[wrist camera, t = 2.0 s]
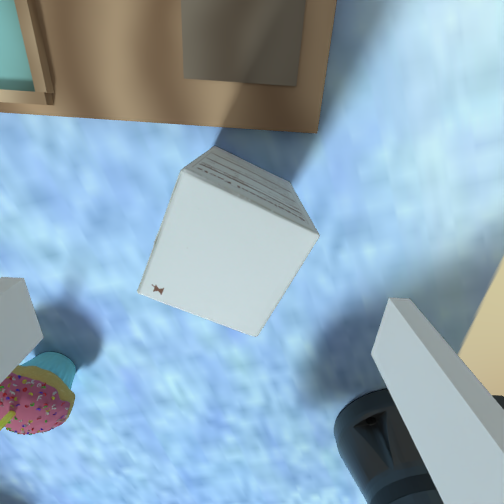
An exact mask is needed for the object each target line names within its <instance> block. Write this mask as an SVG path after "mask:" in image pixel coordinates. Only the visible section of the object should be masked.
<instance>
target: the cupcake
mask: <svg viewBox="0 0 504 504" xmlns="http://www.w3.org/2000/svg"><path fill="white" fill-rule="evenodd" d="M75 373H76V368H75V365H74V363H73V362H72V361H71V360H70V359H69V358H68V357H66V356H64V355H62V354H60V353H56V352H44V353H41V354H39V355H38V356H36V357H35V358H33V359H31V360H30V361H28V362H26V363H24V364H22V365H18V366H17V367H16V368H15V369H14V370H13V371H12V372H11V373H10V374H9V375H8V376H7V377H6V378H5V379H4V381H3V382H2V383H1V384H0V430H1V429H2V428H3V427H6V429H7V430H8V429H9V431H12V432H17V434H24V435H25V434H29V435H32V434H35V433H39V432H41V433H43V432H47V431H49V430H51V429H54V428H55V427H57V426H59V425H61V424H63V423H64V422H65V421H66V420H67V418H68V417H69V415H70V413H71V410H72V407H73V404H74V400H75V394H74V393H73V392H72V391H71V386H72V382H73V379H74V376H75Z"/></svg>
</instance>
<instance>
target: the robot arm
mask: <svg viewBox="0 0 504 504" xmlns="http://www.w3.org/2000/svg"><path fill="white" fill-rule="evenodd" d="M43 338H44V337H43V334H42V331H41V328H40V325H39V322H38V319H37V316H36V313H35V310H34V307H33V304H32V301H31V298H30V295H29V292H28V289H27V286H26V283H25V280H24V278H11V277H1V278H0V384H1V383H2V382H3V381H4V379H5V378H6V377H7V376H8V375H9V374H10V373H11V372H12V371H13V370H14V369H15V368H16V367H17V366H18V365H19V364H20V363H21V361H22V360H23V359H24V358H25V357H26V356H27V355H28V354H29V353H30V352H31V351H32V350H33V349H34V348H35V347H36V346H37V345H38V343H39V342H40V341H41V340H42V339H43ZM371 355H372V357H373V359H374V361H375V363H376V365H377V367H378V370H379V372H380V374H381V376H382V378H383V380H384V382H385V384H386V386H387V388H388V389H385V390H380V391H376V392H373V393H370V394H368V395H365V396H363V397H361V398H359V399H357V400H355V401H354V402H352V403H351V404H350V405H348V406H347V407H346V408H345V409H344V410H343V411H342V412H341V413H340V415H339V416H338V418H337V420H336V422H335V425H334V436H335V439H336V443H337V447H338V451H339V454H340V456H341V458H342V460H343V461H344V463H345V465H346V467H347V468H348V470H349V472H350V473H351V475H352V477H353V479H354V480H355V482H356V484H357V486H358V487H359V489H360V491H361V492H362V494H363V496H364V498H365V499H366V501H367V504H504V397H503V396H496V395H491V394H490V393H489V392H488V391H487V389H486V388H485V387H484V386H483V385H482V383H481V382H480V381H479V380H478V379H477V378H476V376H475V375H474V374H473V373H472V372H471V370H470V369H469V368H468V367H467V366H466V365H465V363H464V362H463V361H462V360H461V359H460V357H459V356H458V355H457V354H456V353H455V352H454V350H453V349H452V348H451V347H450V346H449V344H448V343H447V342H446V341H445V340H444V339H443V337H442V336H441V335H440V334H439V333H438V331H437V330H436V329H435V328H434V327H433V326H432V324H431V323H430V322H429V321H428V320H427V318H426V317H425V316H424V315H423V314H422V313H421V311H420V310H419V309H418V308H417V307H416V305H415V304H414V303H413V302H412V301H411V300H410V299H407V298H389V299H388V302H387V305H386V308H385V311H384V315H383V318H382V321H381V324H380V327H379V330H378V333H377V336H376V339H375V343H374V346H373V349H372V352H371Z"/></svg>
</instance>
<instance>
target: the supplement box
mask: <svg viewBox="0 0 504 504" xmlns="http://www.w3.org/2000/svg"><path fill="white" fill-rule="evenodd" d="M319 236H320V235H319V233H318V231H317V229H316V228H315V226H314V224H313V222H312V221H311V219H310V217H309V215H308V214H307V212H306V210H305V208H304V207H303V205H302V203H301V201H300V200H299V198H298V196H297V194H296V192H295V191H294V189H293V187H292V185H291V183H290V182H289V181H286V180H284V179H282V178H280V177H278V176H276V175H274V174H272V173H270V172H268V171H266V170H264V169H262V168H260V167H257V166H255V165H253V164H251V163H249V162H247V161H245V160H243V159H241V158H239V157H237V156H235V155H233V154H231V153H229V152H227V151H225V150H223V149H221V148H219V147H216V146H213V147H212V148H211V149H210V150H208V151H207V152H205V153H204V154H202V155H201V156H200V157H198V158H197V159H195V160H194V161H192V162H191V163H190V164H188V165H187V166H185V167H184V168H183V169H182V170H181V171H180V173H179V176H178V179H177V181H176V184H175V187H174V190H173V193H172V195H171V198H170V201H169V204H168V207H167V209H166V212H165V215H164V218H163V221H162V223H161V226H160V229H159V231H158V234H157V236H156V239H155V241H154V245H153V249H152V252H151V254H150V257H149V260H148V263H147V266H146V268H145V271H144V274H143V276H142V279H141V282H140V285H139V287H138V290H137V292H138V294H141V295H144V296H147V297H149V298H152V299H154V300H157V301H159V302H162V303H164V304H167V305H170V306H172V307H175V308H178V309H181V310H183V311H186V312H189V313H191V314H194V315H197V316H200V317H202V318H205V319H207V320H210V321H213V322H216V323H218V324H221V325H224V326H226V327H229V328H232V329H234V330H237V331H240V332H242V333H245V334H248V335H252V336H255V337H256V336H258V335H259V333H260V332H261V330H262V328H263V327H264V325H265V324H266V322H267V320H268V319H269V317H270V316H271V314H272V313H273V311H274V309H275V308H276V306H277V304H278V303H279V301H280V300H281V298H282V296H283V295H284V293H285V292H286V290H287V288H288V287H289V285H290V284H291V282H292V280H293V279H294V277H295V276H296V274H297V272H298V271H299V269H300V267H301V266H302V264H303V262H304V261H305V259H306V258H307V256H308V254H309V253H310V251H311V249H312V248H313V246H314V245H315V243H316V241H317V240H318V238H319Z"/></svg>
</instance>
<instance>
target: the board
mask: <svg viewBox="0 0 504 504" xmlns="http://www.w3.org/2000/svg"><path fill="white" fill-rule="evenodd" d="M336 2H337V0H0V112H4V113H19V114H34V115H49V116H64V117H79V118H94V119H109V120H124V121H139V122H153V123H168V124H183V125H198V126H213V127H228V128H243V129H258V130H273V131H288V132H303V133H317V131H318V124H319V117H320V111H321V104H322V97H323V90H324V84H325V77H326V70H327V63H328V56H329V50H330V43H331V36H332V29H333V23H334V16H335V9H336Z"/></svg>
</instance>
